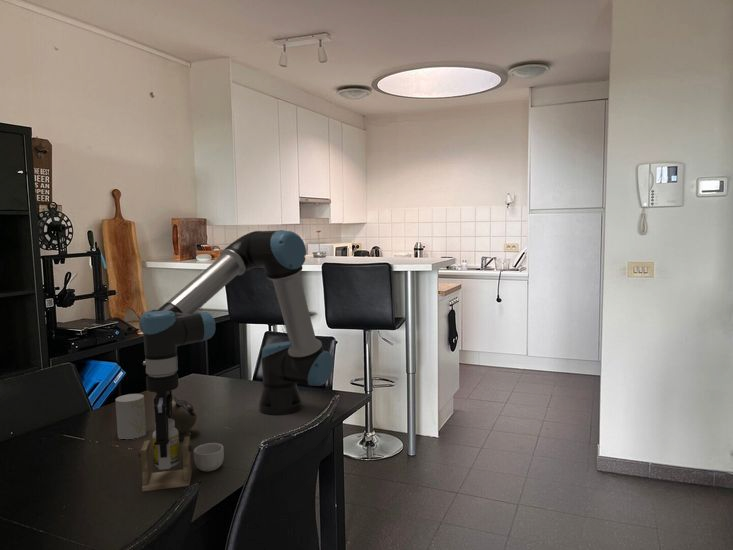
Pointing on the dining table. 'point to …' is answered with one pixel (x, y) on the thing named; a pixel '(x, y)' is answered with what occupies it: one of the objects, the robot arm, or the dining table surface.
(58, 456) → the dining table surface
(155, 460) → the pill bottle
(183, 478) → the holder
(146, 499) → the dining table surface
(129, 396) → the white cylinder
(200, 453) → the teacup
